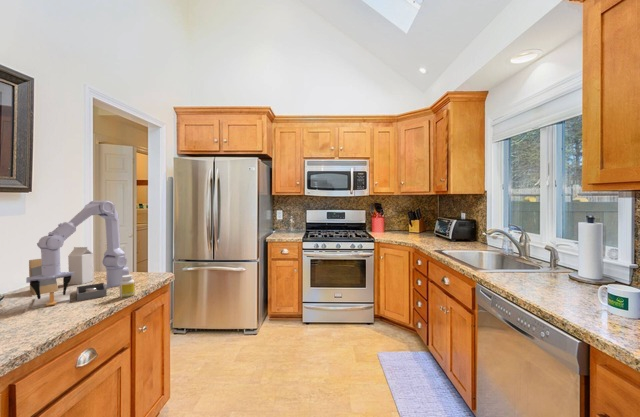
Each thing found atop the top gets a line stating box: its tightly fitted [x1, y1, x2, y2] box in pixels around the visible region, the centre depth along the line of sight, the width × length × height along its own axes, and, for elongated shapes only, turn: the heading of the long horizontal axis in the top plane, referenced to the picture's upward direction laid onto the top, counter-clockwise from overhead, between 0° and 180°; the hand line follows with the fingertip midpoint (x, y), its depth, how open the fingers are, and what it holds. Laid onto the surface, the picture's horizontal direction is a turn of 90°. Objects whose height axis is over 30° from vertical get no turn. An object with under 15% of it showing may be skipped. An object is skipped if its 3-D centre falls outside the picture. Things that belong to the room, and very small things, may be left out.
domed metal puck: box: [85, 287, 97, 291], centre depth 132 cm, size 4×4×2 cm
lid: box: [31, 290, 71, 309], centre depth 121 cm, size 11×17×5 cm, turn 41°
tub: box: [76, 282, 108, 302], centre depth 129 cm, size 10×14×4 cm
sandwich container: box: [28, 258, 59, 296], centre depth 136 cm, size 9×15×15 cm, turn 51°
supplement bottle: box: [119, 274, 136, 300], centre depth 126 cm, size 5×5×10 cm
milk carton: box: [67, 246, 94, 286], centre depth 150 cm, size 7×7×19 cm
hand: (51, 296), depth 119 cm, fingers open, 7 cm apart
